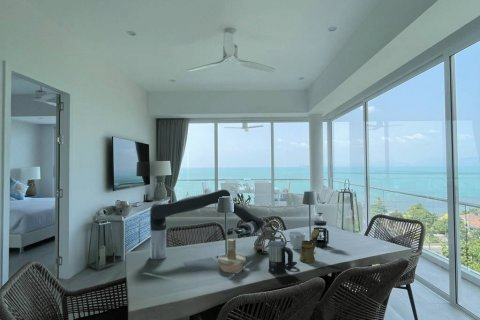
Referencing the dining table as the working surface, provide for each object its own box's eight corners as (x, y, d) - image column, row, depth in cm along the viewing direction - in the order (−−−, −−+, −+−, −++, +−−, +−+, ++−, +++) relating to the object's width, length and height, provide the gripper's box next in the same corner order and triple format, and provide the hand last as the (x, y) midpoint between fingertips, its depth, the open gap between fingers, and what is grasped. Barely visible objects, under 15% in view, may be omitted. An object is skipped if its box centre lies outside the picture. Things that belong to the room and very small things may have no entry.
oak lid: (237, 267, 137) (237, 244, 137) (212, 262, 144) (212, 241, 144) (250, 258, 150) (249, 237, 151) (226, 254, 157) (226, 235, 157)
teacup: (285, 251, 179) (285, 235, 179) (290, 244, 193) (289, 230, 193) (304, 253, 175) (303, 237, 175) (307, 246, 188) (307, 232, 189)
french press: (309, 245, 192) (309, 212, 193) (318, 243, 197) (318, 211, 198) (323, 249, 182) (323, 214, 183) (332, 246, 188) (331, 213, 188)
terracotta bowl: (226, 275, 139) (226, 265, 139) (218, 268, 149) (218, 259, 149) (245, 271, 144) (245, 262, 145) (236, 264, 154) (236, 255, 155)
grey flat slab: (190, 273, 142) (190, 271, 142) (182, 263, 157) (182, 262, 157) (222, 267, 151) (222, 265, 151) (211, 258, 165) (211, 257, 165)
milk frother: (265, 273, 142) (265, 244, 143) (273, 263, 157) (273, 237, 157) (293, 277, 137) (292, 247, 137) (298, 266, 152) (298, 239, 152)
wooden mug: (324, 260, 161) (323, 229, 161) (306, 264, 155) (305, 232, 155) (313, 256, 169) (313, 226, 169) (296, 259, 163) (296, 229, 163)
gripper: (236, 222, 177) (223, 226, 163) (256, 224, 171) (245, 229, 156) (236, 234, 177) (223, 239, 163) (256, 236, 170) (244, 242, 156)
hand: (234, 234), depth 159 cm, fingers open, 8 cm apart
